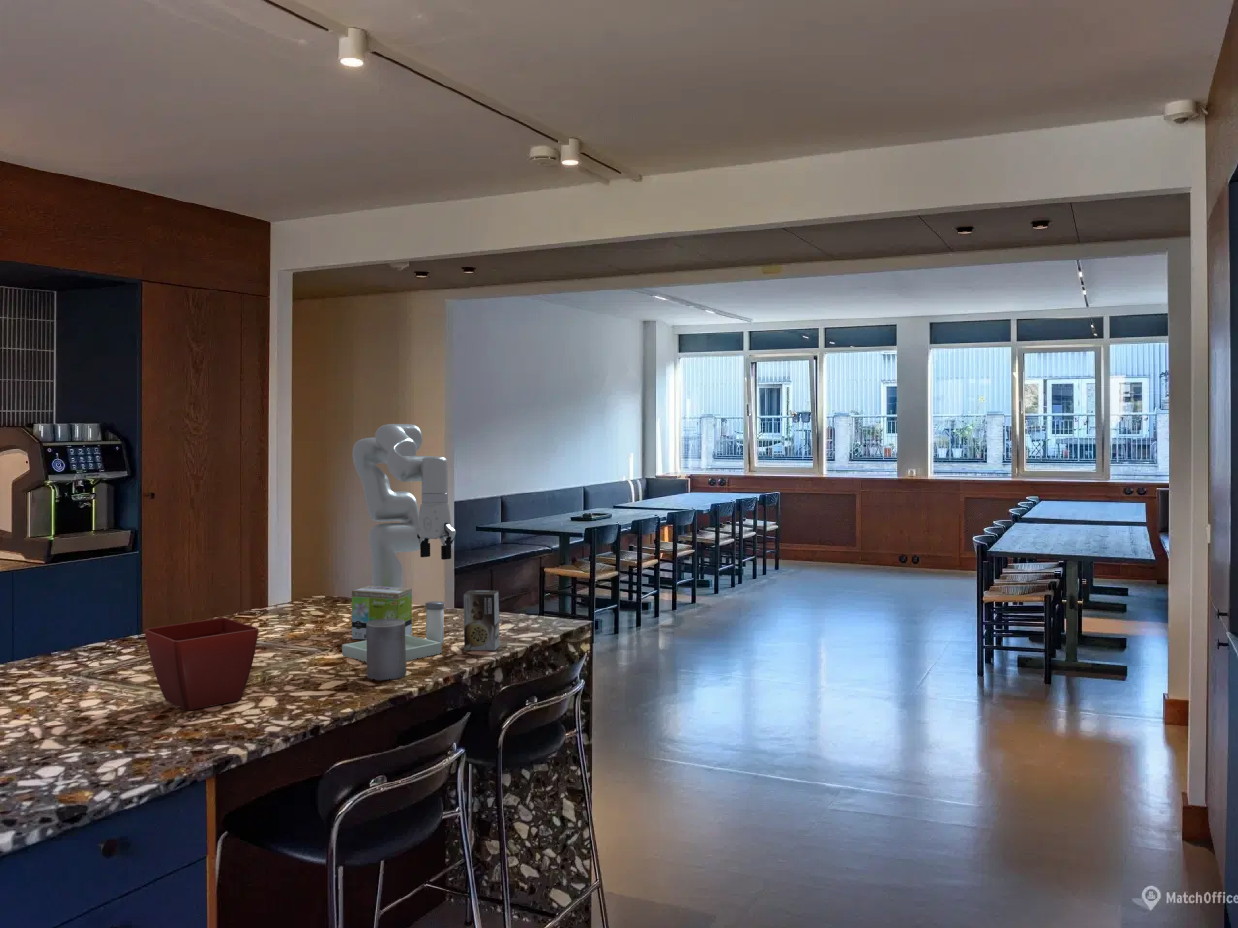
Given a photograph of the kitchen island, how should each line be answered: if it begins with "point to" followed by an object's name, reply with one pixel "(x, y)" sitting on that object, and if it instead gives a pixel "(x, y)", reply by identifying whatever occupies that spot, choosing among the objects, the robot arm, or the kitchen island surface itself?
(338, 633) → the kitchen island surface
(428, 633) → the shaker
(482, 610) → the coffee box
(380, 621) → the pillar candle
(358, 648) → the tray
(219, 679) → the plant pot
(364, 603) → the tea box
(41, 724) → the kitchen island surface
